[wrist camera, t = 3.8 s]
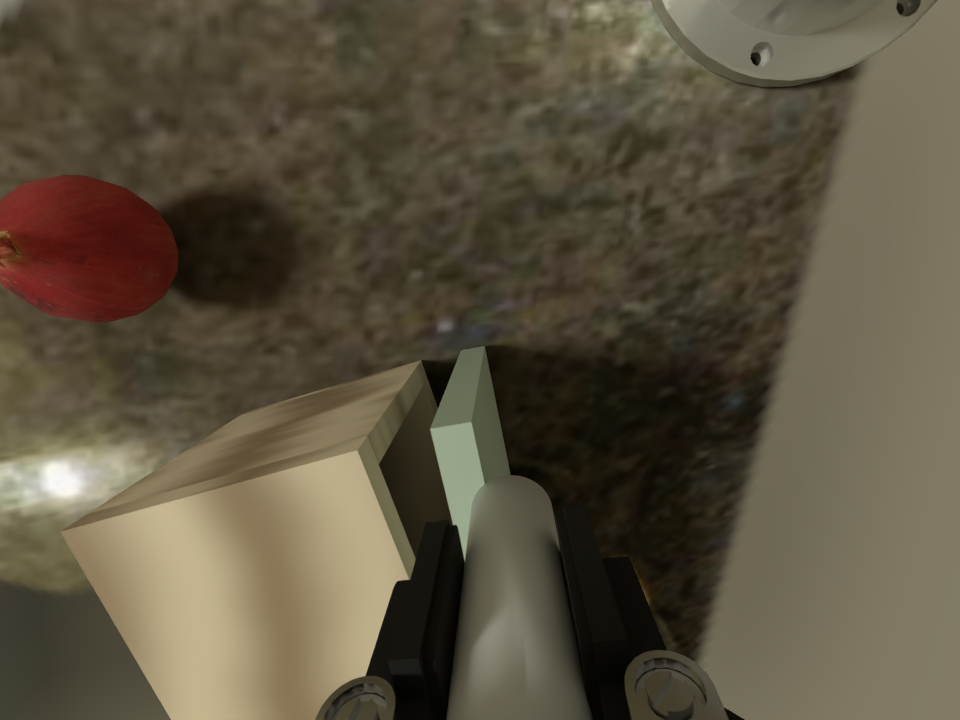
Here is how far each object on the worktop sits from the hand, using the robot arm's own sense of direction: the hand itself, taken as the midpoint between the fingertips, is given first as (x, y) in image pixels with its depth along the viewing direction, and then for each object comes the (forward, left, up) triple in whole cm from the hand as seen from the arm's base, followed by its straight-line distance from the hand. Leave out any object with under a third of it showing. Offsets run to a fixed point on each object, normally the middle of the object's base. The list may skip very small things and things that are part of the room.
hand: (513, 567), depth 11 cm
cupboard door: (+1, +6, -12) cm, 14 cm away
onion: (+14, -12, -13) cm, 23 cm away
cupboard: (+9, +6, -13) cm, 16 cm away
